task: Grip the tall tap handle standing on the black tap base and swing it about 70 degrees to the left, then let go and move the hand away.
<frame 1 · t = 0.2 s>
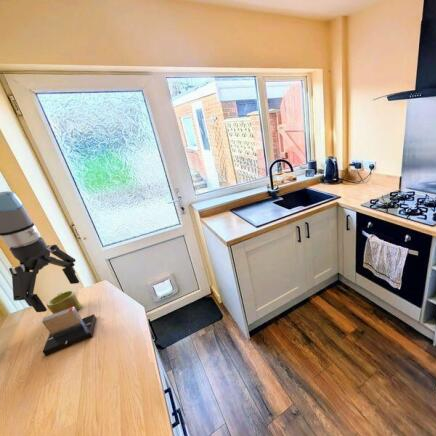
hand: (59, 296, 83), 22 cm above the countertop, tool pointing down, fingers open, 13 cm apart
tap base: (73, 336, 95), on the countertop
mug: (69, 310, 109), on the countertop
tap handle: (64, 322, 92), point 7 cm above the countertop, hinge at 0.0°
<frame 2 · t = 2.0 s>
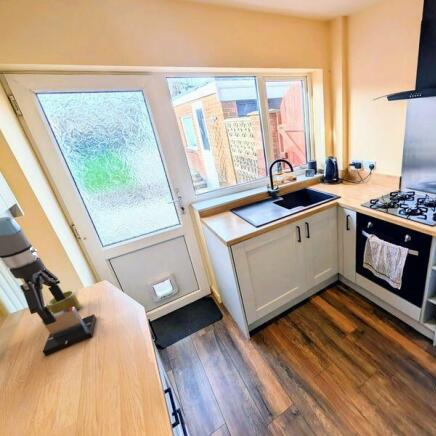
hand: (56, 310, 90), 13 cm above the countertop, tool pointing down, fingers open, 13 cm apart
nothing on the countertop moved.
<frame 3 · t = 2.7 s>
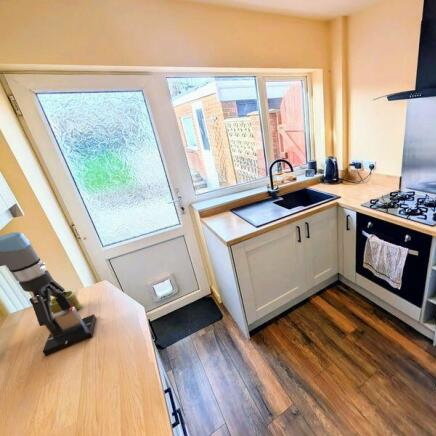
hand: (64, 321, 92), 8 cm above the countertop, tool pointing down, fingers open, 13 cm apart
nothing on the countertop moved.
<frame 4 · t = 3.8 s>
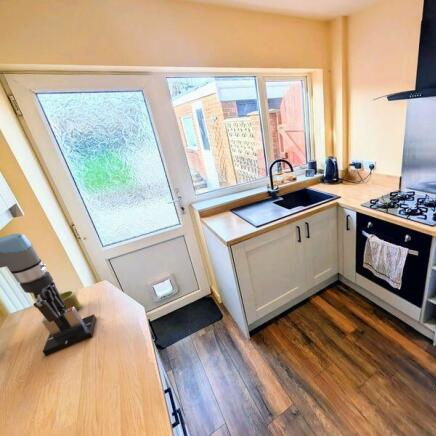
hand: (67, 326, 93), 5 cm above the countertop, tool pointing down, fingers closed on tap handle, 2 cm apart
tap handle: (64, 322, 92), point 7 cm above the countertop, hinge at 0.0°, touching gripper
everything else where it was.
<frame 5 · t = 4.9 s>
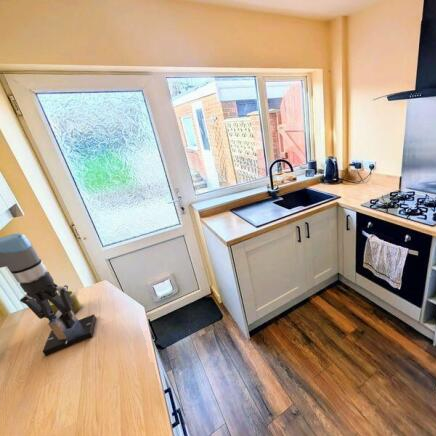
hand: (67, 326, 93), 5 cm above the countertop, tool pointing down, fingers closed on tap handle, 2 cm apart
tap handle: (64, 322, 92), point 7 cm above the countertop, hinge at 77.2°, touching gripper
everything else where it was.
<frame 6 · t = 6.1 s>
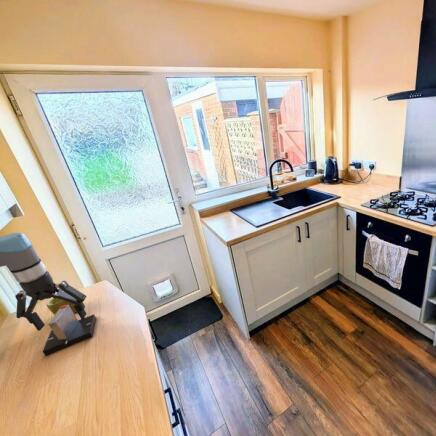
hand: (63, 322, 92), 7 cm above the countertop, tool pointing down, fingers open, 13 cm apart
tap handle: (64, 322, 92), point 7 cm above the countertop, hinge at 77.2°
everything else where it was.
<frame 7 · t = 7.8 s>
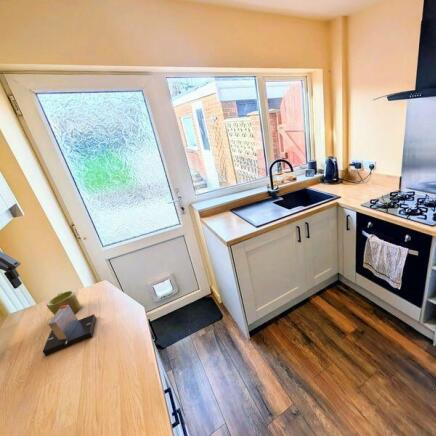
nothing on the countertop moved.
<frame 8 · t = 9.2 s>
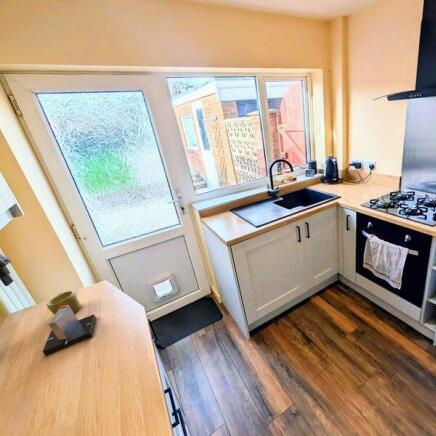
nothing on the countertop moved.
at the end: tap handle at +77° (first picture: +0°) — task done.
